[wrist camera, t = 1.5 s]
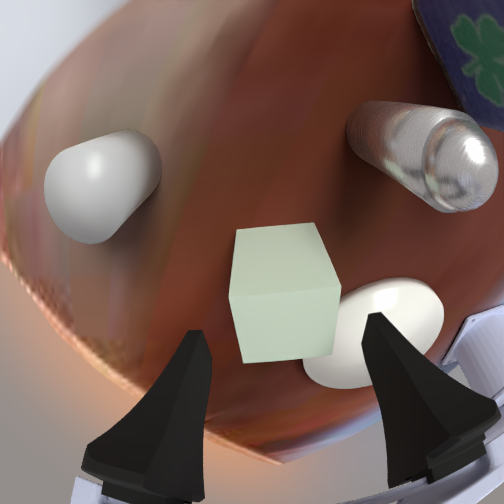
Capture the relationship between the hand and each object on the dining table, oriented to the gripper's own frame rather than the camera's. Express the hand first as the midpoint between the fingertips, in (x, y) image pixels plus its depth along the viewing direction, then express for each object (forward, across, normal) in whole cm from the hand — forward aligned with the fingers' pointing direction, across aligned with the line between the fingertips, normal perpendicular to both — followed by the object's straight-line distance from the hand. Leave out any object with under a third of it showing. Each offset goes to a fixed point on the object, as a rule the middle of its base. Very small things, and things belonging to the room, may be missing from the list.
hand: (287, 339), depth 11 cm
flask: (+7, -12, -13) cm, 19 cm away
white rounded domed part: (+6, +8, -7) cm, 12 cm away
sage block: (+6, 0, 0) cm, 7 cm away
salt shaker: (+6, -6, -8) cm, 12 cm away
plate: (+6, -8, +9) cm, 14 cm away
